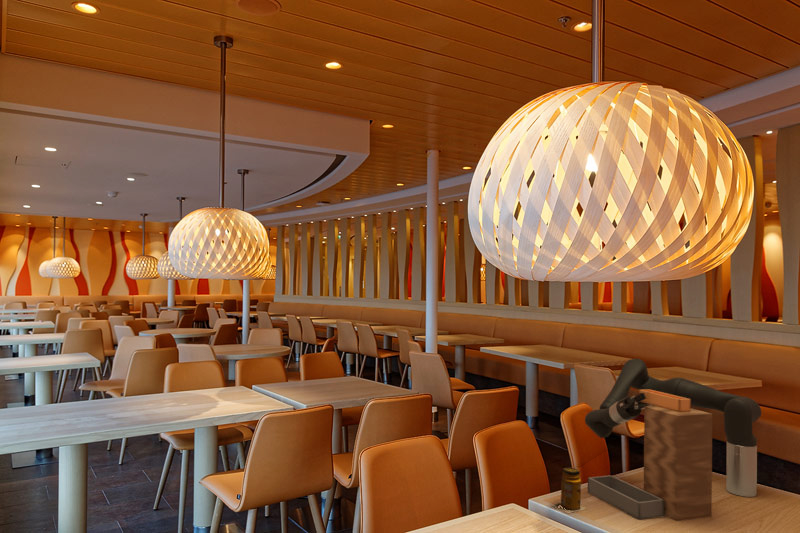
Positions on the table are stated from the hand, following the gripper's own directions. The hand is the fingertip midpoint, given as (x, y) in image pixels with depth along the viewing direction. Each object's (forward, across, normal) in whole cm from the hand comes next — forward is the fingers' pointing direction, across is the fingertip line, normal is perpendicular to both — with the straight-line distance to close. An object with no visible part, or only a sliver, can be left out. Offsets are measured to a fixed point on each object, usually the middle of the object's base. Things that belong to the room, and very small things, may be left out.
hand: (653, 394), depth 196 cm
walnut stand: (-9, 0, +35) cm, 36 cm away
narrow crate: (+2, 0, +5) cm, 5 cm away
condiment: (-19, -33, +30) cm, 48 cm away
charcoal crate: (-17, -13, +31) cm, 37 cm away
